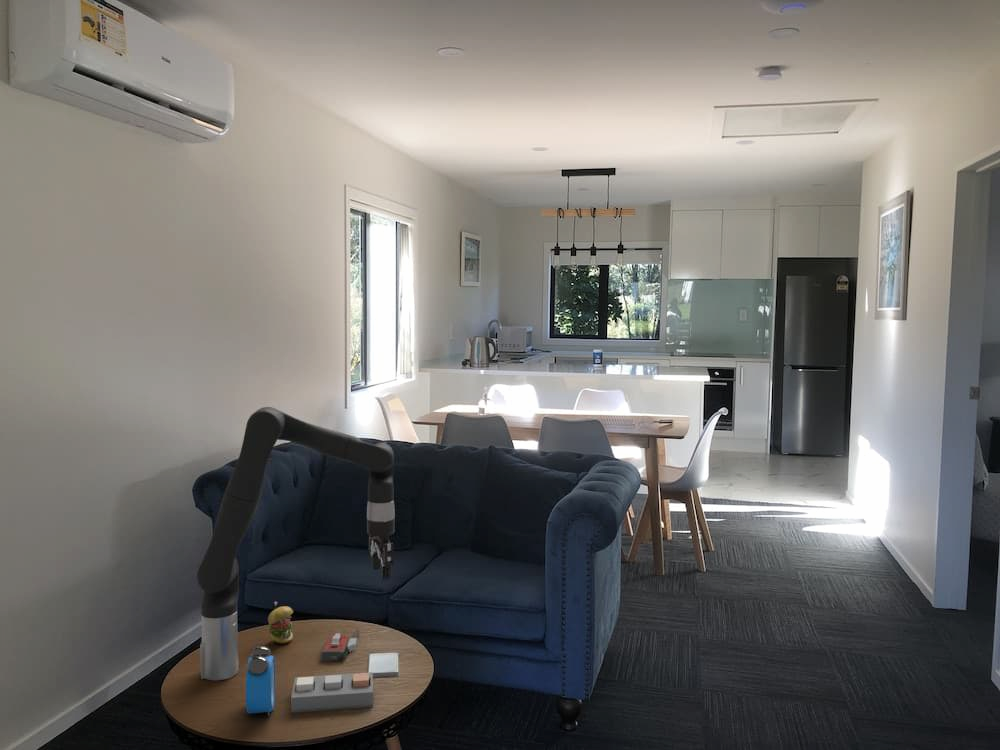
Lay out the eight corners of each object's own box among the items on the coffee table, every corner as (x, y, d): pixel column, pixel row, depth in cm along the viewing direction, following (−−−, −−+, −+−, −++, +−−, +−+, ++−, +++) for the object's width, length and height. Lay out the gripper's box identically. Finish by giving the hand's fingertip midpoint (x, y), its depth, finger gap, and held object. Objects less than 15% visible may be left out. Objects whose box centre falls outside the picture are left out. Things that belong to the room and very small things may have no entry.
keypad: (291, 712, 199) (291, 697, 198) (295, 691, 209) (295, 677, 209) (373, 706, 202) (372, 692, 201) (372, 685, 213) (372, 672, 212)
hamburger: (284, 648, 235) (283, 608, 234) (263, 644, 238) (262, 605, 237) (298, 637, 243) (298, 599, 242) (277, 634, 245) (277, 596, 244)
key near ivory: (296, 696, 202) (296, 685, 202) (297, 688, 206) (297, 677, 206) (312, 695, 203) (312, 683, 202) (313, 687, 206) (313, 676, 206)
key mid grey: (324, 694, 203) (324, 683, 203) (325, 687, 207) (325, 675, 207) (341, 693, 204) (340, 682, 203) (341, 685, 208) (341, 674, 207)
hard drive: (398, 671, 219) (398, 652, 231) (368, 673, 218) (369, 653, 230) (398, 677, 219) (398, 657, 231) (368, 679, 218) (369, 658, 230)
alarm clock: (271, 722, 194) (270, 662, 193) (245, 724, 193) (243, 664, 191) (275, 696, 207) (274, 640, 205) (250, 698, 206) (249, 641, 204)
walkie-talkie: (350, 664, 226) (361, 634, 246) (350, 648, 226) (361, 620, 246) (319, 664, 226) (332, 634, 246) (319, 649, 226) (332, 620, 246)
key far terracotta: (353, 692, 204) (352, 681, 204) (353, 685, 208) (353, 674, 208) (368, 691, 205) (368, 680, 205) (368, 684, 209) (368, 672, 208)
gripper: (359, 511, 224) (360, 568, 226) (375, 524, 211) (376, 584, 213) (385, 509, 228) (385, 564, 229) (402, 521, 215) (402, 580, 216)
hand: (380, 574), depth 221 cm, fingers open, 8 cm apart
